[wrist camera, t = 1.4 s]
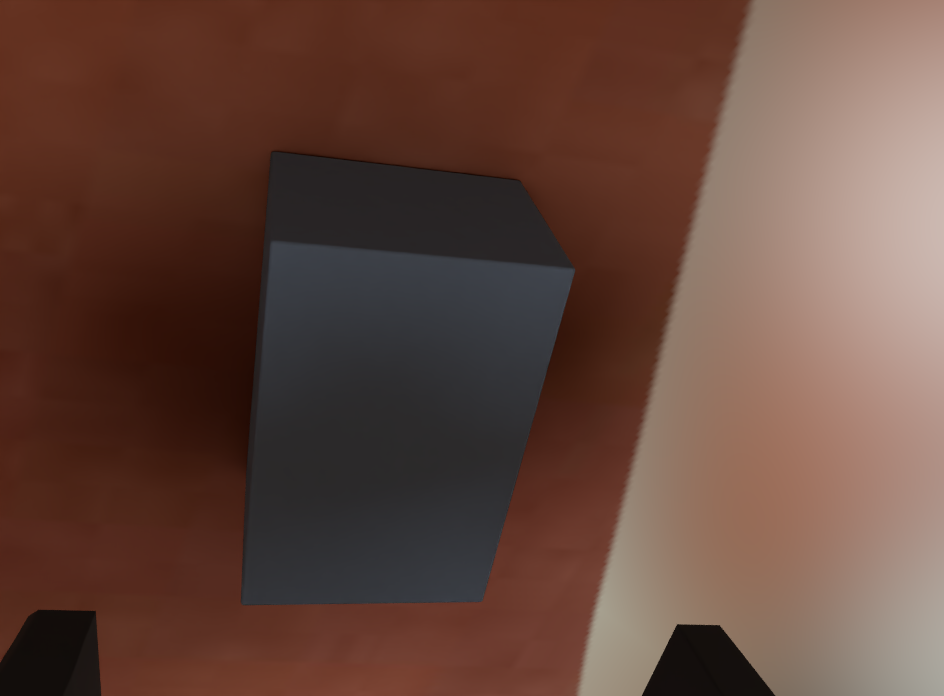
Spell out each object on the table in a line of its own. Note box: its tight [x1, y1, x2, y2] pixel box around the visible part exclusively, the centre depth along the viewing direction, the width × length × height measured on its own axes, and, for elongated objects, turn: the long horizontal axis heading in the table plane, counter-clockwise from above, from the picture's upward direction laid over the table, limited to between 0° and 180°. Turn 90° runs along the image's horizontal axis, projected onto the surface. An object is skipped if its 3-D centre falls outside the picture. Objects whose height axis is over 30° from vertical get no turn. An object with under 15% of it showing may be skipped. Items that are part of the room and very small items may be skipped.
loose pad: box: [241, 152, 575, 605], centre depth 18 cm, size 8×5×4 cm, turn 169°
